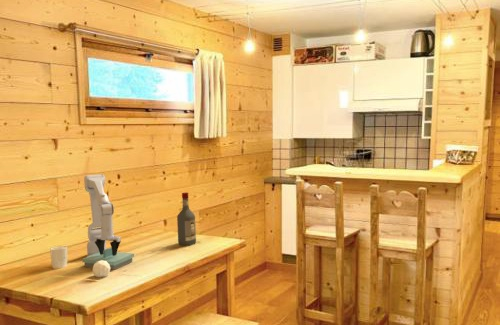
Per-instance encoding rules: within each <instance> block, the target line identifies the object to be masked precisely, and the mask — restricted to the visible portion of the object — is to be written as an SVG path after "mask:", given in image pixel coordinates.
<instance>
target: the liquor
mask: <svg viewBox="0 0 500 325" xmlns="http://www.w3.org/2000/svg"><path fill="white" fill-rule="evenodd" d="M181 199H182V209H181V210H180V212H179V213H178V214H177V216H176V218H177V219H176V221H177V222H176V223H177V243H178V245H180V246H187V247H188V246H191V245H195V244H196V243H197V232H196V216H195V214H194V212H193V211H192V210H191V209H190V206H189V204H190V203H189V192H181Z"/></svg>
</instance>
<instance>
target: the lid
mask: <svg viewBox="0 0 500 325" xmlns="http://www.w3.org/2000/svg"><path fill="white" fill-rule="evenodd" d="M87 256H88V255H87ZM87 256H86V257H83V258H82V259H81V262H82V263H84V264H85V263H94V264H95V263H96V262H98V261H101V260H103V261H107V263H108V264H109V265H113V266H115V265H117V264H119V263H122V262H124V261H126V260H128V259H131V258H132V259H133V258H135V253H133V252H121V251H117V255H115V256H113V255H112V247H111V246H110V247H108V248H106V249H105V250H103V254H102V255H100V252H99V253H96V254H93V255H91V256H88V257H87Z"/></svg>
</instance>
